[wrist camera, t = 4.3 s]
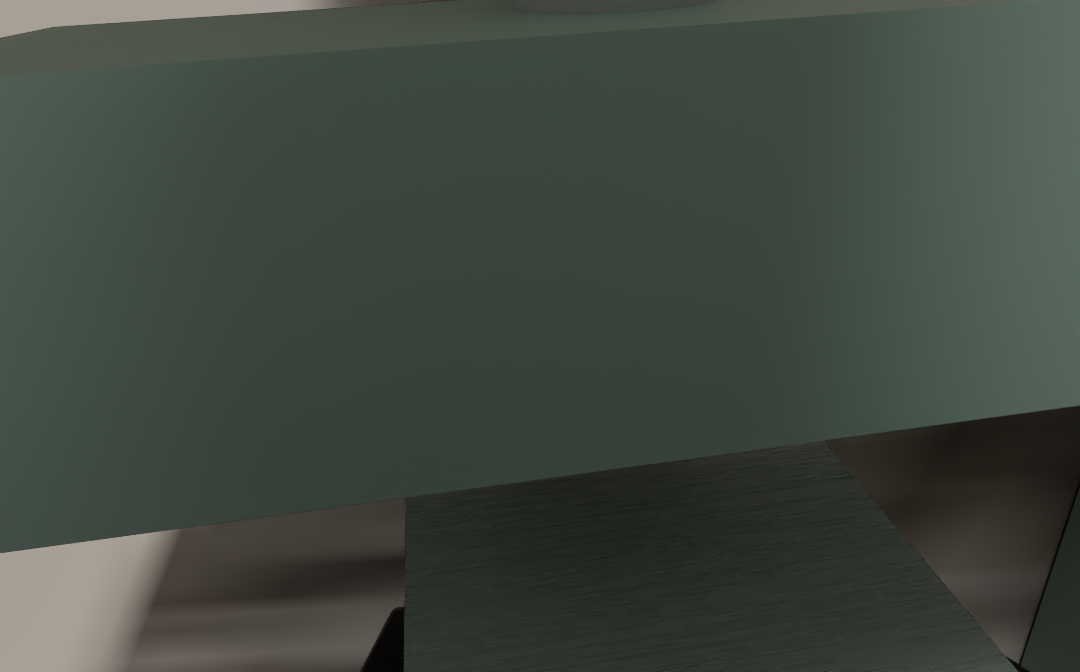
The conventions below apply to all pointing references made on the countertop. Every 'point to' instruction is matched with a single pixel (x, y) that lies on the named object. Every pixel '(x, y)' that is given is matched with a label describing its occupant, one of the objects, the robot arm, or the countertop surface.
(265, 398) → the vise
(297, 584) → the countertop surface
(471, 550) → the steel block
